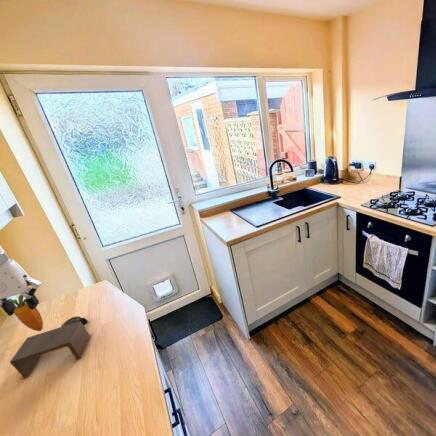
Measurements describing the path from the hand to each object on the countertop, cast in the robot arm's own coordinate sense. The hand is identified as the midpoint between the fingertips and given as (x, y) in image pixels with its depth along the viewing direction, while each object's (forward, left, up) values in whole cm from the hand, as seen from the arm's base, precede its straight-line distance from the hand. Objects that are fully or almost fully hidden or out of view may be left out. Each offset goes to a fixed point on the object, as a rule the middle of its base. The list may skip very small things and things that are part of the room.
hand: (24, 308), depth 78 cm
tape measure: (+2, +12, -23) cm, 26 cm away
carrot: (0, 0, -10) cm, 10 cm away
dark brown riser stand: (0, 0, -22) cm, 22 cm away
